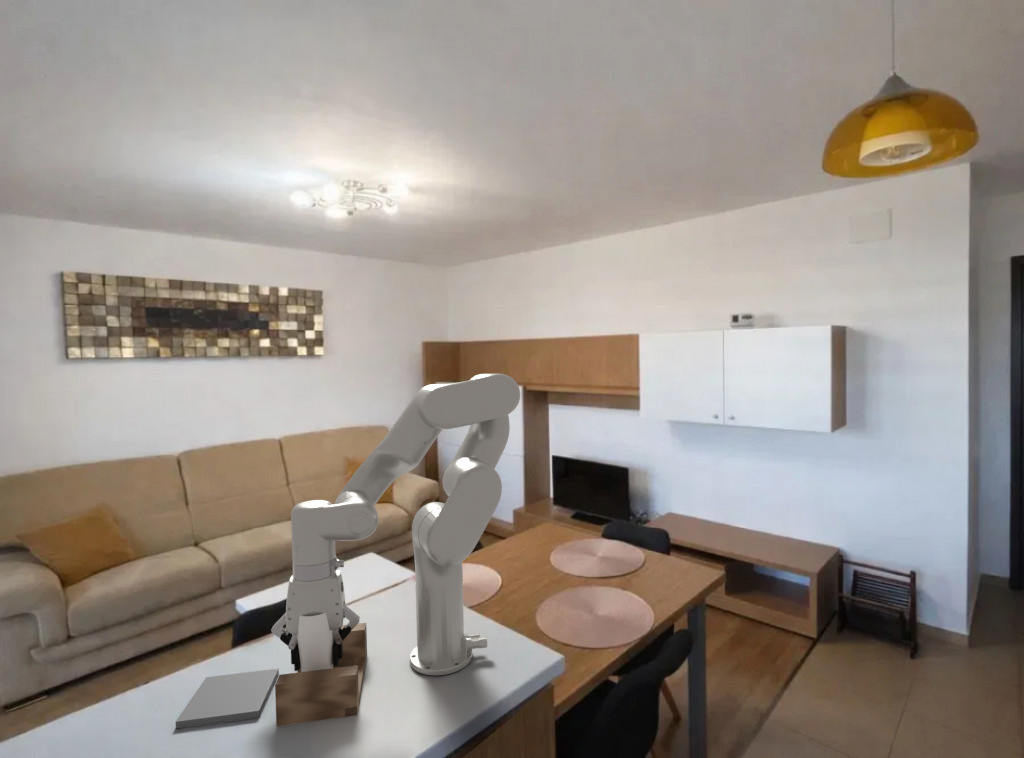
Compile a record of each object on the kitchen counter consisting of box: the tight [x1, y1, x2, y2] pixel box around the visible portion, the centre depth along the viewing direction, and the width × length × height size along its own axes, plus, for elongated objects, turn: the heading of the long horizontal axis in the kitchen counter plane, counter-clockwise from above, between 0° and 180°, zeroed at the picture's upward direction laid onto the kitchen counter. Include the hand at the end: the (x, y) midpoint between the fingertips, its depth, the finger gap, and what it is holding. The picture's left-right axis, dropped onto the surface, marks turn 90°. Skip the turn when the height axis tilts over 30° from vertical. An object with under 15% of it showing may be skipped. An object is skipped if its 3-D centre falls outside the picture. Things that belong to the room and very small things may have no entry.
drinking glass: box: [297, 613, 334, 672], centre depth 97 cm, size 7×7×15 cm
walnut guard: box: [274, 622, 368, 727], centre depth 98 cm, size 13×19×7 cm
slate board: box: [175, 668, 280, 729], centre depth 95 cm, size 13×13×1 cm
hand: (317, 663), depth 97 cm, fingers closed on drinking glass, 6 cm apart
